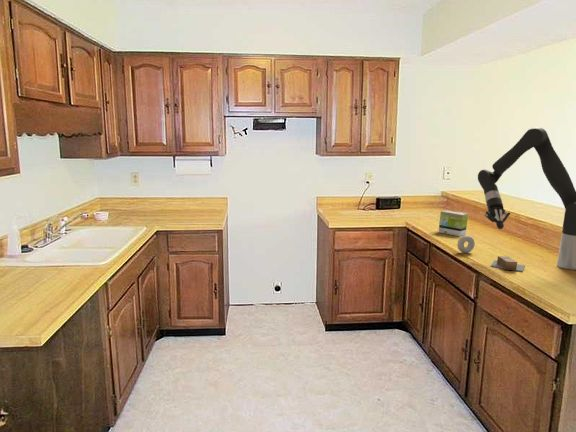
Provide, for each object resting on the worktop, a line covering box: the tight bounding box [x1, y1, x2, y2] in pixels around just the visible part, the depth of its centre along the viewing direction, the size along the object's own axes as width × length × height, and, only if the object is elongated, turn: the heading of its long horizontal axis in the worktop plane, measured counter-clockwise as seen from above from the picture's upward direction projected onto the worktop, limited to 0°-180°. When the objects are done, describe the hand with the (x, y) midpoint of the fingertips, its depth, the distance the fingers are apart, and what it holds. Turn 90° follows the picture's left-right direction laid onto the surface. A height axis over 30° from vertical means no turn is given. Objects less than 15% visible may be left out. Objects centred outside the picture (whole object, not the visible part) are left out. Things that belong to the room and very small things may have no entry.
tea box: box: [438, 209, 469, 237], centre depth 289 cm, size 15×10×15 cm, turn 47°
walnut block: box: [496, 255, 518, 271], centre depth 213 cm, size 4×5×10 cm
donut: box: [456, 234, 476, 254], centre depth 239 cm, size 10×4×10 cm, turn 102°
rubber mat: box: [490, 259, 526, 273], centre depth 216 cm, size 14×12×1 cm
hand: (500, 228), depth 221 cm, fingers closed
